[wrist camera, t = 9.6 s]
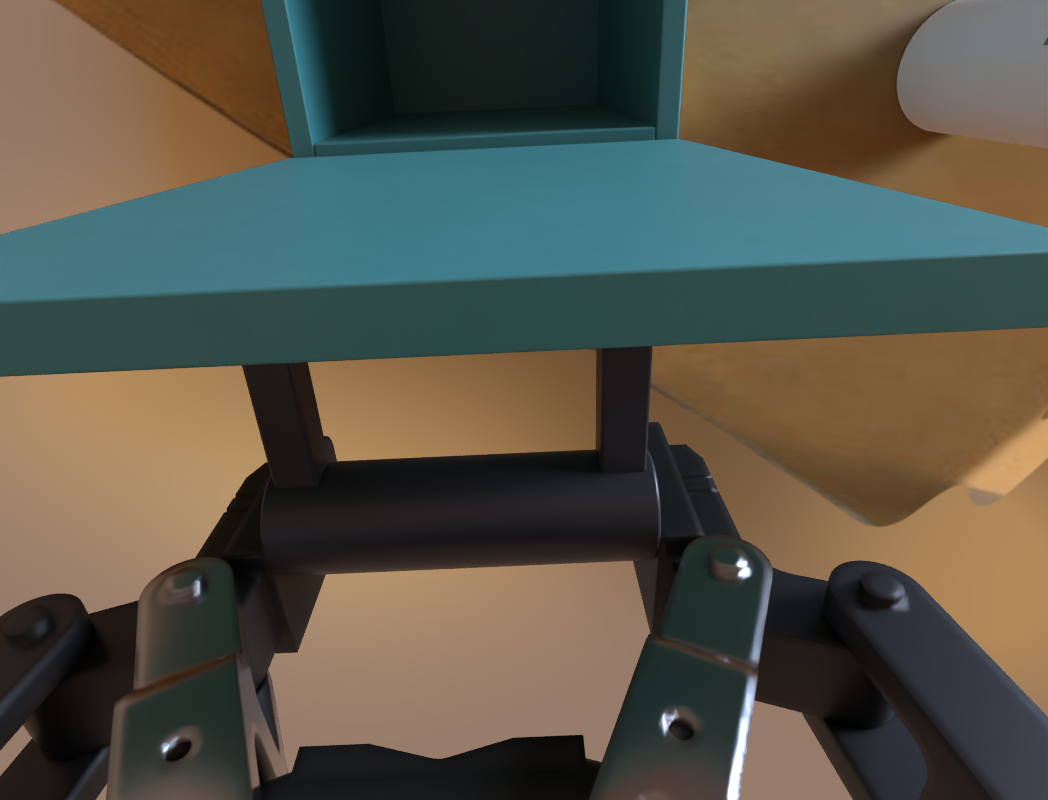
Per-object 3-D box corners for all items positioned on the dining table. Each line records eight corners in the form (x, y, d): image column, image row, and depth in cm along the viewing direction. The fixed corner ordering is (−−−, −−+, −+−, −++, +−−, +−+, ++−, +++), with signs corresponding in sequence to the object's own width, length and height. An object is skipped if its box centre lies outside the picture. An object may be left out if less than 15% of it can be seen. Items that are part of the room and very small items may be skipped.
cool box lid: (-307, 314, 6) (-50, 701, 8) (1127, 245, 6) (971, 656, 8) (288, 158, 21) (318, 308, 24) (681, 138, 21) (672, 291, 24)
